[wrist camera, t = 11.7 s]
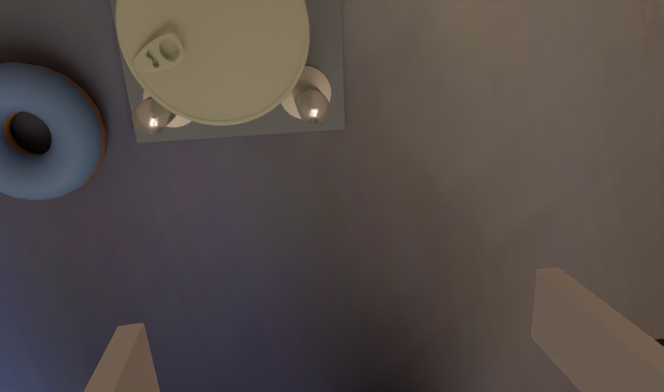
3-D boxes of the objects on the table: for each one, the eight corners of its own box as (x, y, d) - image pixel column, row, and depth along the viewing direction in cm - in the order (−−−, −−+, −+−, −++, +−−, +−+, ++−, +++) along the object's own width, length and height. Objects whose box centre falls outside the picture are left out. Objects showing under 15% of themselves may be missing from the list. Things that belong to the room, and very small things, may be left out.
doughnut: (7, 26, 31) (-32, 35, 27) (139, 114, 35) (121, 134, 31) (-52, 133, 34) (-96, 156, 30) (75, 204, 38) (51, 233, 34)
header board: (342, 126, 37) (345, 129, 36) (141, 139, 35) (136, 143, 34) (336, -101, 32) (339, -106, 30) (95, -99, 30) (88, -105, 28)
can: (138, -14, 31) (66, -30, 20) (263, -69, 30) (262, -117, 19) (203, 111, 34) (174, 157, 23) (315, 63, 34) (340, 85, 23)
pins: (318, 105, 35) (330, 122, 29) (160, 114, 34) (135, 135, 27) (308, -105, 30) (320, -141, 24) (122, -104, 29) (81, -142, 22)
